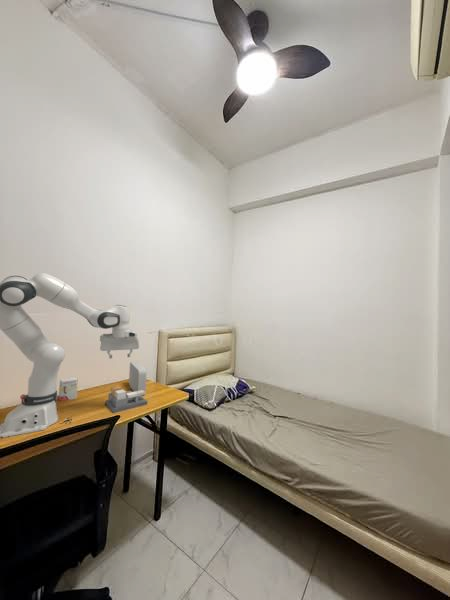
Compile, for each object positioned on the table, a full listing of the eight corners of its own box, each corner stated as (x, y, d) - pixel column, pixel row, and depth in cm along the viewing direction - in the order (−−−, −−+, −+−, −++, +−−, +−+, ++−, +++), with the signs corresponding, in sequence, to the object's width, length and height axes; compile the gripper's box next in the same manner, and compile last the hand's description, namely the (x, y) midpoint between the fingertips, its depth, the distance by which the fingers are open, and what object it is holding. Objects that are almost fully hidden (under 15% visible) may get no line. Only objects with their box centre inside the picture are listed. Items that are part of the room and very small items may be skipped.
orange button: (112, 398, 136) (113, 389, 136) (110, 395, 139) (111, 387, 139) (120, 396, 139) (121, 387, 139) (118, 394, 142) (118, 385, 142)
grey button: (117, 402, 130) (117, 393, 130) (114, 399, 134) (115, 391, 134) (125, 400, 133) (125, 391, 133) (122, 398, 137) (123, 389, 137)
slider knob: (127, 398, 143) (127, 393, 143) (125, 396, 145) (125, 391, 145) (132, 396, 145) (132, 391, 145) (130, 395, 147) (130, 390, 147)
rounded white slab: (148, 395, 155) (150, 369, 155) (137, 397, 151) (138, 370, 151) (138, 383, 177) (139, 360, 177) (128, 384, 173) (129, 361, 173)
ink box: (60, 401, 139) (61, 381, 139) (58, 399, 142) (59, 379, 142) (76, 398, 145) (78, 378, 145) (74, 395, 148) (75, 376, 149)
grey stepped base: (113, 413, 127) (114, 402, 128) (105, 403, 138) (105, 393, 139) (147, 404, 140) (147, 394, 140) (137, 396, 151) (137, 387, 151)
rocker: (128, 398, 135) (128, 395, 135) (125, 396, 138) (125, 393, 138) (145, 394, 142) (145, 391, 142) (142, 392, 145) (142, 389, 145)
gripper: (99, 334, 127) (98, 360, 127) (139, 333, 136) (139, 357, 136) (100, 333, 133) (99, 357, 133) (138, 332, 141) (138, 355, 141)
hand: (119, 357), depth 134 cm, fingers open, 8 cm apart
